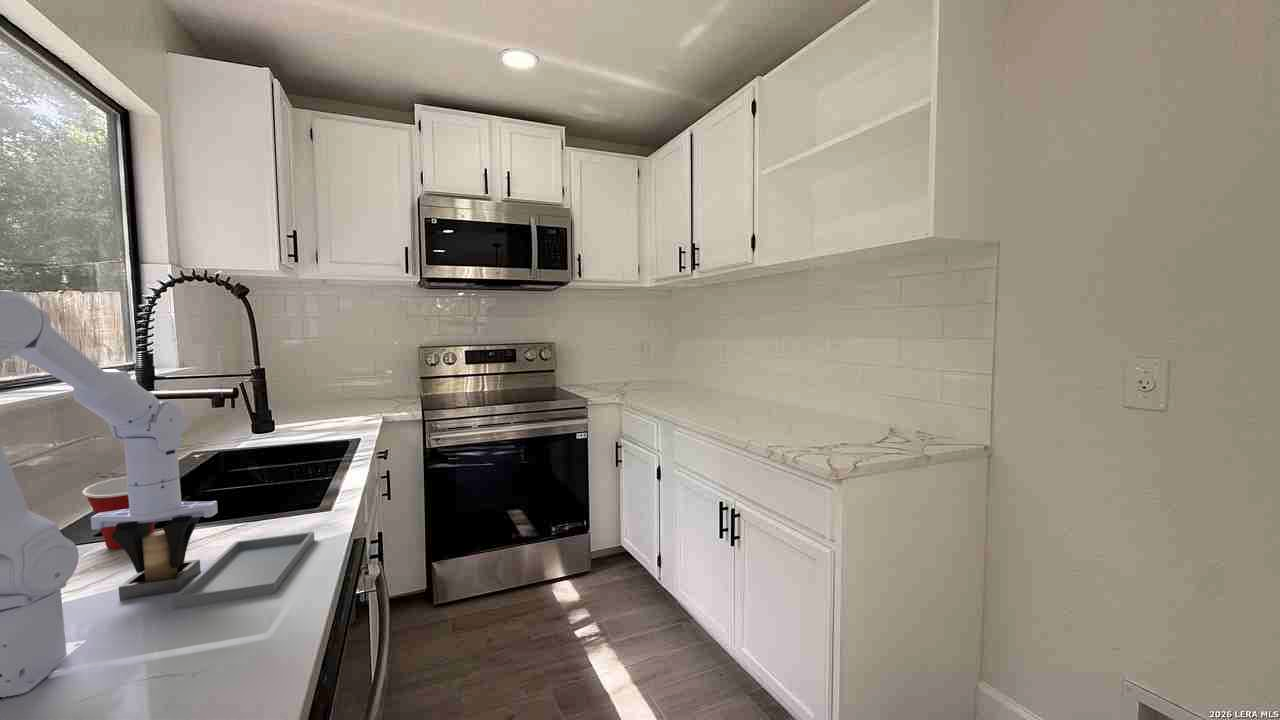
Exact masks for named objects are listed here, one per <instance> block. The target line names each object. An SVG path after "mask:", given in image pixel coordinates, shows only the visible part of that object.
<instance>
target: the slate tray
mask: <svg viewBox="0 0 1280 720" xmlns="http://www.w3.org/2000/svg"><path fill="white" fill-rule="evenodd" d="M314 542H315V531H309V532H308V531H307V532H302V533H300V532H299V533H292V534H284V535H277V536H270V537H269V536H267V537H259V538H251V539H244V540H236V541H234V543H232V545H230V546H229V547H228V548H227V549H226V550H225V551H223V552H222V553H221V554H220V555H219V556H218V557H217V558H216V559H215V560H213V562H212V563H210V564H209V565H208V566H207V567H206V568H205V569H203V570H202V572H200V573H199V574H198V575H196V576H195V577H194V578H193V579H192V580H191V581H190V582H189V583H187V584H186V585H185V586H184V587H183V588H182V589H181V590H180V591H179V592H177V594H176V595H174V596H173V599H172V600H173V609H174V610H179V609H184V608H192V607H198V606H199V607H200V606H204V605H212V604H217V603H224V602H230V601H237V600H244V599H250V598H257V597H263V596H268V595H274V594H275V595H276V593H277V591H278V590H279V589H280V588H281V586H282V585H283V583H284V582H285V581H286V580H287V578H288V577H289V576H290V574H291V572H292V571H293V570H294V569H295V567H296V566H297V564H298V563H299V562H300V561H301V559H302V558H303V556H304V555H305V554H306V552H307V551H308V550H309V548H310V547H311V546H312V545H313V543H314Z"/></svg>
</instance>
